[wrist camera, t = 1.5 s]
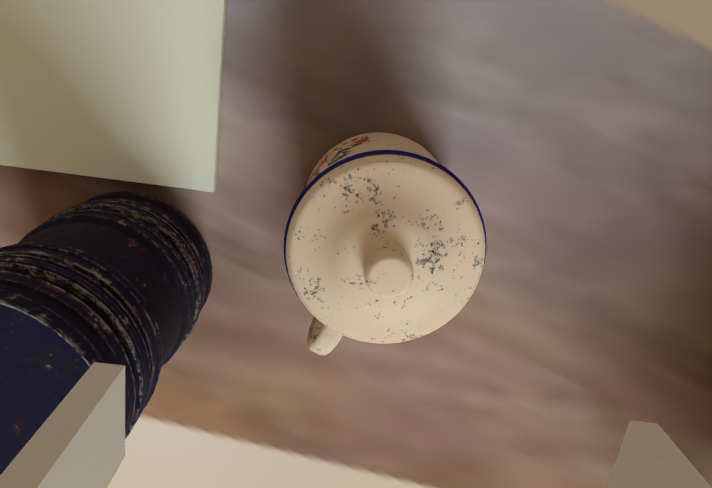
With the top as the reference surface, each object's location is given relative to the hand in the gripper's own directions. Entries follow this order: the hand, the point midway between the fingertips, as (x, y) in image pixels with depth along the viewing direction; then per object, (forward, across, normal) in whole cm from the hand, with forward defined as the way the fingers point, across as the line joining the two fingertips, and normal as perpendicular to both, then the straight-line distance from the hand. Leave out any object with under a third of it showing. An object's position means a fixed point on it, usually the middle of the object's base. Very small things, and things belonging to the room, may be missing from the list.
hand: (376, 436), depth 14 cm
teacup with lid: (+20, 0, 0) cm, 20 cm away
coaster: (+20, +16, -8) cm, 27 cm away
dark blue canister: (+20, +13, +5) cm, 25 cm away
